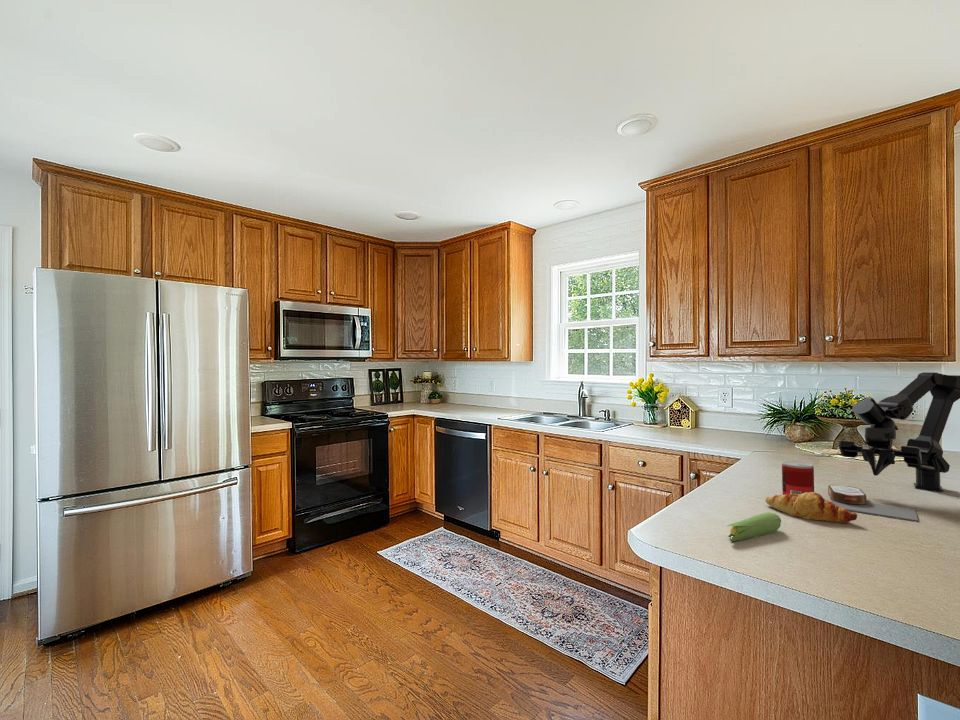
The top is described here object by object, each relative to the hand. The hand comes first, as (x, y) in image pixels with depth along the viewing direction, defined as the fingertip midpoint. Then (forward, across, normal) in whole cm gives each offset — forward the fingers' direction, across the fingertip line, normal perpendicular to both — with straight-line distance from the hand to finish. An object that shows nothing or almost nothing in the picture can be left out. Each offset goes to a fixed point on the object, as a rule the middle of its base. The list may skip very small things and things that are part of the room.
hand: (875, 474), depth 134 cm
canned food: (+16, -16, -6) cm, 23 cm away
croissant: (+26, -10, -15) cm, 32 cm away
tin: (+6, -2, +2) cm, 7 cm away
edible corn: (+45, -14, -35) cm, 59 cm away
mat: (+13, +1, -2) cm, 13 cm away
